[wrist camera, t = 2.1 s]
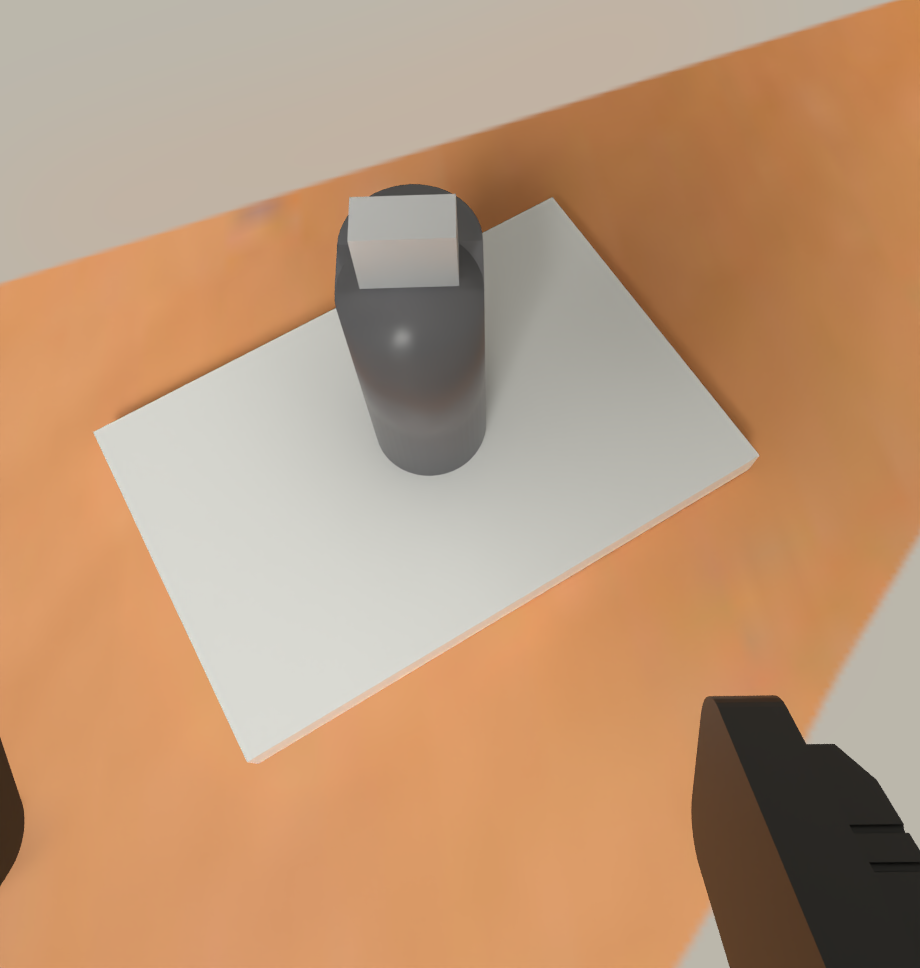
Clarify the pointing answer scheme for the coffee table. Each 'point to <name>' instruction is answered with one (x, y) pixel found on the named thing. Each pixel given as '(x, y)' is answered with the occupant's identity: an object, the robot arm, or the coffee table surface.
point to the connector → (416, 323)
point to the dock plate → (411, 487)
